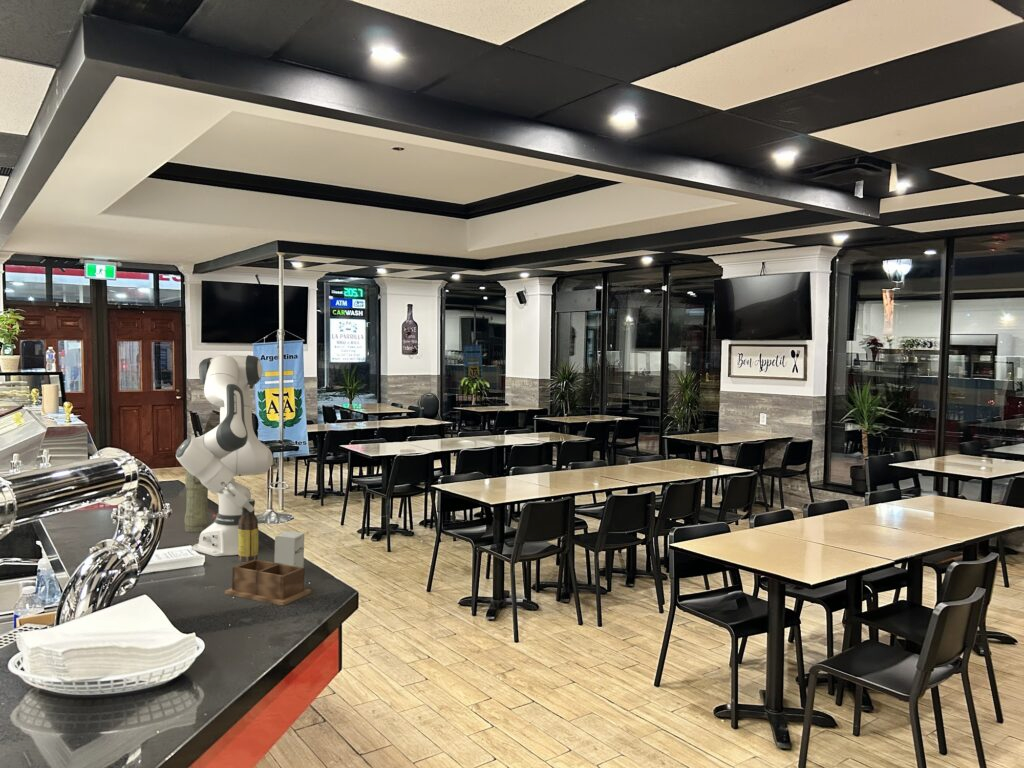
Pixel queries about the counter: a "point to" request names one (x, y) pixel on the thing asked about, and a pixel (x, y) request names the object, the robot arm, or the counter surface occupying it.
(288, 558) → the supplement box
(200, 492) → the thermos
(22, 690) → the counter surface
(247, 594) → the condiment caddy
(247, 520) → the sauce bottle
